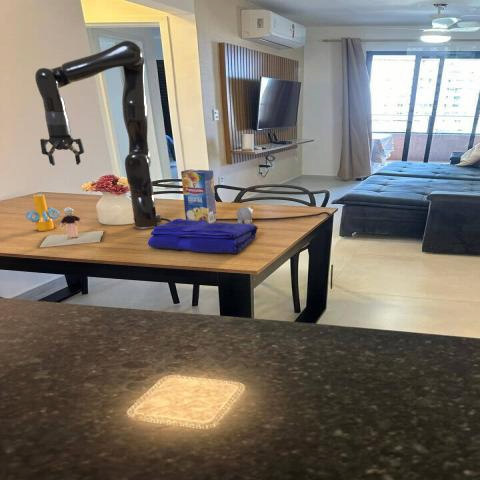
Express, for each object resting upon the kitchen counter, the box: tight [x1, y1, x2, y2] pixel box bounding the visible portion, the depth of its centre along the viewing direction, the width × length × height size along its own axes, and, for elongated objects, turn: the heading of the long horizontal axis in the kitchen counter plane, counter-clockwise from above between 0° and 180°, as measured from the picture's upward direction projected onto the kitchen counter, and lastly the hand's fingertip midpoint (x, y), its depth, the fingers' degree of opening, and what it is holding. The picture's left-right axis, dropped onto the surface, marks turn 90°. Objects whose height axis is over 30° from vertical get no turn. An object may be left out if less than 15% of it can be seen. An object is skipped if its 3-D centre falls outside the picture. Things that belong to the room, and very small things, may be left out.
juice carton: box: [180, 168, 217, 223], centre depth 177 cm, size 12×8×24 cm, turn 75°
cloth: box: [39, 230, 104, 248], centre depth 154 cm, size 20×14×1 cm
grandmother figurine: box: [59, 206, 83, 240], centre depth 152 cm, size 8×4×13 cm, turn 148°
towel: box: [147, 218, 259, 255], centre depth 151 cm, size 26×36×9 cm
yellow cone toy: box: [24, 193, 60, 232], centre depth 163 cm, size 12×10×15 cm
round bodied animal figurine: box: [236, 205, 254, 225], centre depth 180 cm, size 7×12×8 cm, turn 165°
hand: (66, 164), depth 156 cm, fingers open, 8 cm apart
